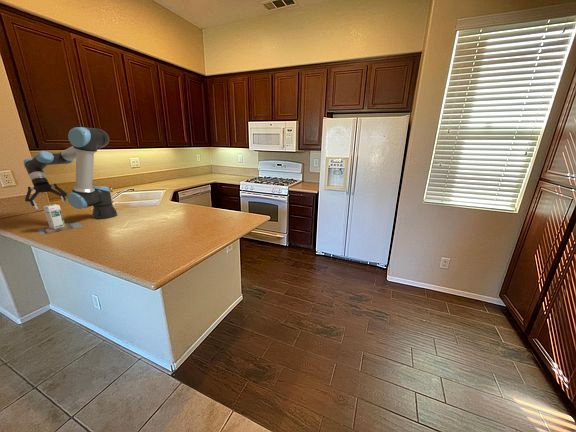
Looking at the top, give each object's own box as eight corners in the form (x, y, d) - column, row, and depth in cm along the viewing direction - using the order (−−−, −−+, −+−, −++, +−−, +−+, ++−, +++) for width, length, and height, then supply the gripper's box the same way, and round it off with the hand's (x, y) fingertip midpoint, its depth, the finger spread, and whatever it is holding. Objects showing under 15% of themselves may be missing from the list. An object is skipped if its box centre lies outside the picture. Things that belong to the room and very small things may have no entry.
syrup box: (54, 229, 148) (48, 206, 144) (49, 227, 150) (42, 205, 146) (65, 226, 153) (59, 204, 149) (60, 225, 155) (54, 203, 151)
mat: (77, 222, 166) (77, 222, 166) (82, 227, 157) (82, 226, 157) (37, 230, 151) (37, 229, 151) (40, 235, 142) (40, 234, 142)
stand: (69, 224, 160) (68, 222, 160) (73, 228, 153) (72, 226, 153) (44, 229, 151) (43, 227, 151) (47, 233, 144) (46, 231, 144)
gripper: (63, 180, 171) (75, 205, 169) (12, 185, 153) (25, 214, 151) (63, 174, 166) (75, 200, 164) (11, 179, 148) (23, 209, 146)
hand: (51, 207), depth 157 cm, fingers open, 13 cm apart
